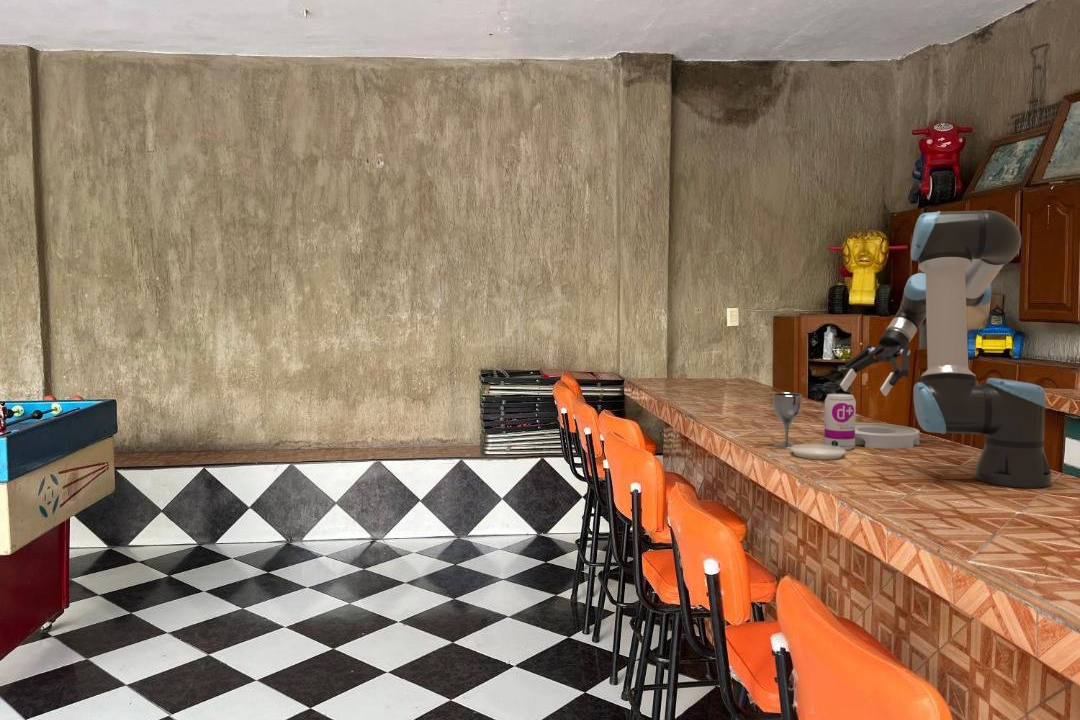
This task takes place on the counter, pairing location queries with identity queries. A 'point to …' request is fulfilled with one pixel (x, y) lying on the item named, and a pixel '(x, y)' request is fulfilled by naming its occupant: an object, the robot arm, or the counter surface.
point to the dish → (818, 451)
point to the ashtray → (885, 436)
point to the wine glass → (786, 412)
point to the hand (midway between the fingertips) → (862, 390)
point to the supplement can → (840, 421)
